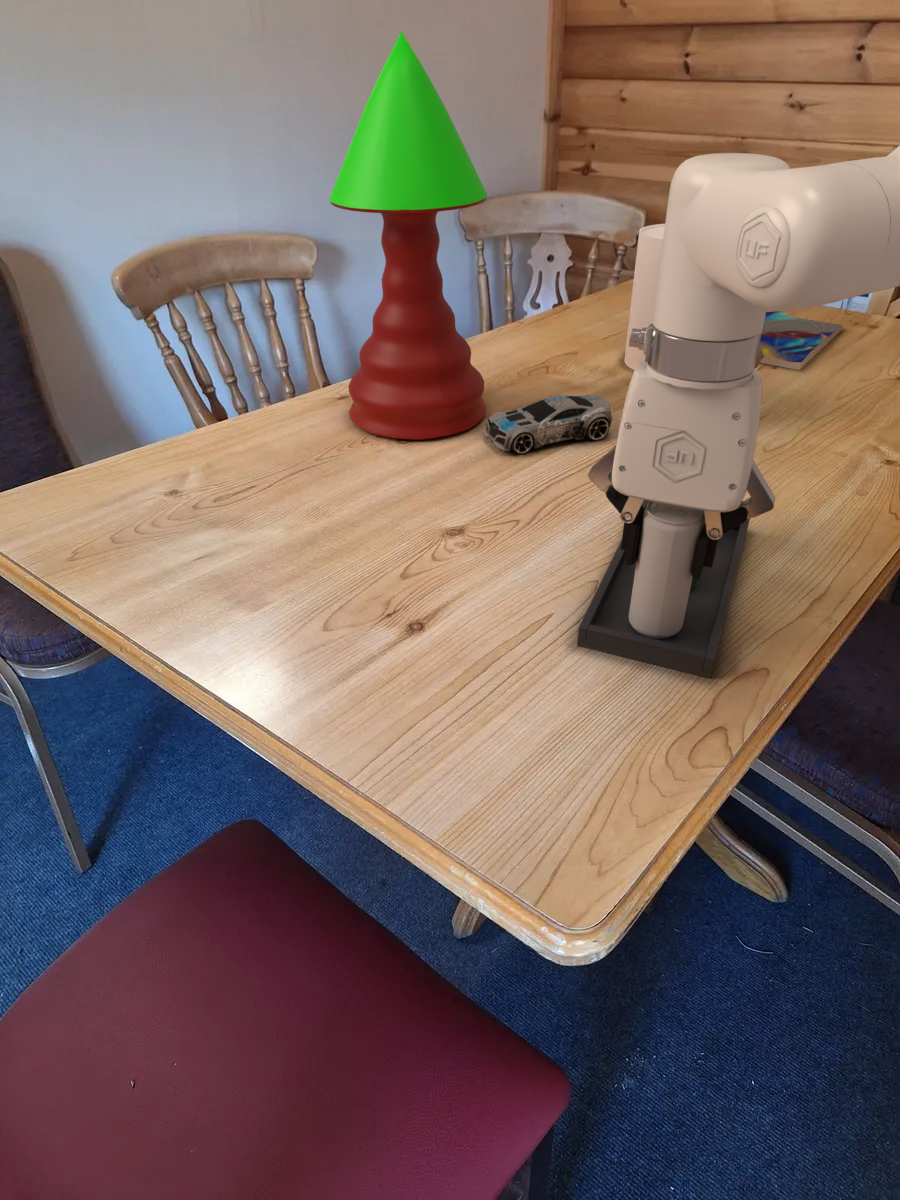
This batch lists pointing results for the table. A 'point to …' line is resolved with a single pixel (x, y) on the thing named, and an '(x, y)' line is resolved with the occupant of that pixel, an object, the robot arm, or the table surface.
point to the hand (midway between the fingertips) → (665, 562)
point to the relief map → (793, 339)
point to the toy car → (550, 422)
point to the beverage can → (664, 569)
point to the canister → (644, 287)
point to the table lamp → (411, 257)
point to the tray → (702, 619)
